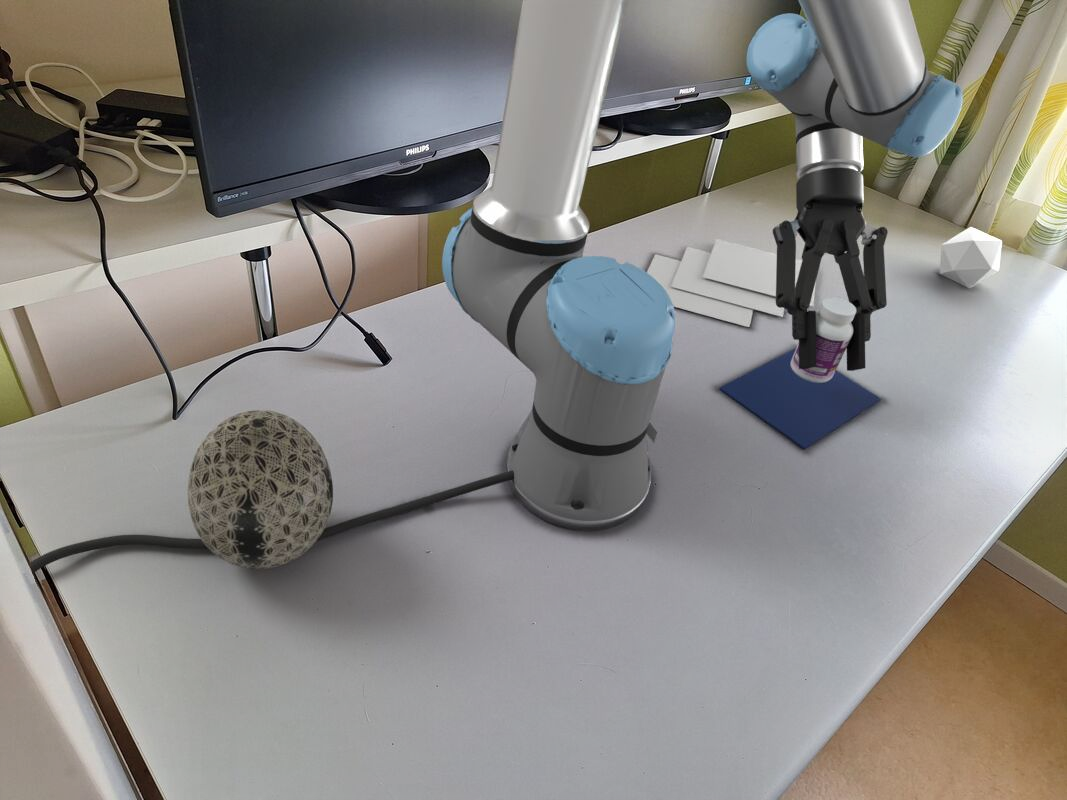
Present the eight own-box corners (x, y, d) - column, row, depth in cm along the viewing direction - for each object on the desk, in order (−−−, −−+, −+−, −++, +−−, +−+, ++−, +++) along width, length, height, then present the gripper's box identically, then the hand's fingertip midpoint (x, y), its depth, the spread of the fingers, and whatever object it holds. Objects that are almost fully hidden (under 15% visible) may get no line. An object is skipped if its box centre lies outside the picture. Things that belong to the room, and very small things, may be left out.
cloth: (803, 449, 89) (804, 448, 88) (718, 389, 96) (719, 387, 96) (880, 400, 98) (881, 398, 98) (797, 348, 105) (798, 346, 105)
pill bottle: (834, 388, 92) (865, 322, 86) (790, 379, 93) (818, 313, 86) (830, 362, 96) (859, 298, 90) (788, 354, 97) (814, 289, 90)
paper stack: (808, 343, 106) (810, 339, 105) (635, 296, 110) (636, 292, 110) (816, 268, 123) (817, 264, 123) (666, 229, 128) (667, 226, 127)
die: (995, 289, 127) (997, 228, 126) (1003, 285, 118) (1005, 220, 118) (938, 291, 130) (939, 232, 129) (941, 287, 122) (943, 224, 121)
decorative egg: (220, 496, 74) (193, 374, 64) (344, 499, 75) (336, 381, 65) (186, 598, 65) (149, 475, 55) (327, 599, 66) (315, 479, 57)
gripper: (881, 192, 96) (885, 374, 94) (743, 182, 94) (744, 369, 92) (919, 170, 89) (924, 367, 87) (770, 158, 86) (772, 361, 84)
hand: (832, 368), depth 89 cm, fingers closed on pill bottle, 5 cm apart
